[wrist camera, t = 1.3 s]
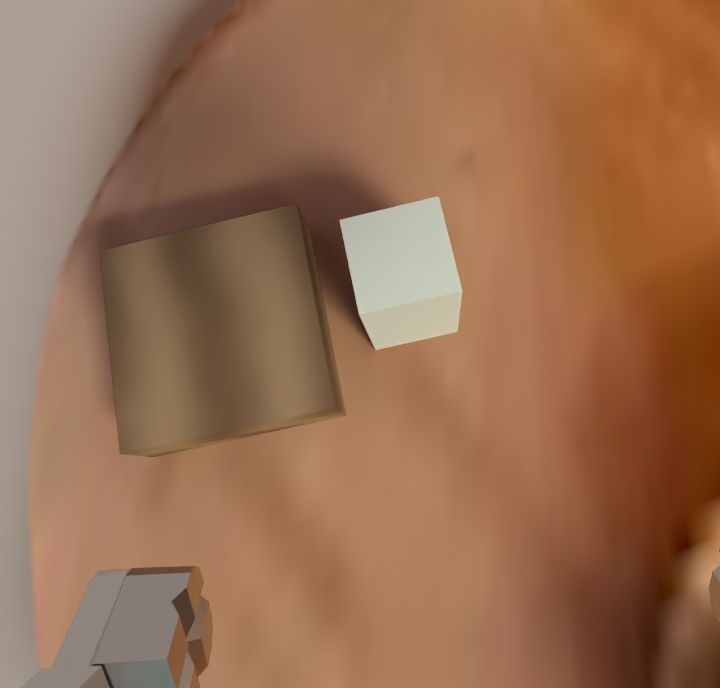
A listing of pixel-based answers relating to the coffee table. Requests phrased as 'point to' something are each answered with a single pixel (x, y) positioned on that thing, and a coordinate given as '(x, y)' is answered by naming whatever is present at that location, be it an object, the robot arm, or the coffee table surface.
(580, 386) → the coffee table surface
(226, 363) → the walnut plinth
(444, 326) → the light grey block
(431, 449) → the coffee table surface
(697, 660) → the coffee table surface
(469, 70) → the coffee table surface
